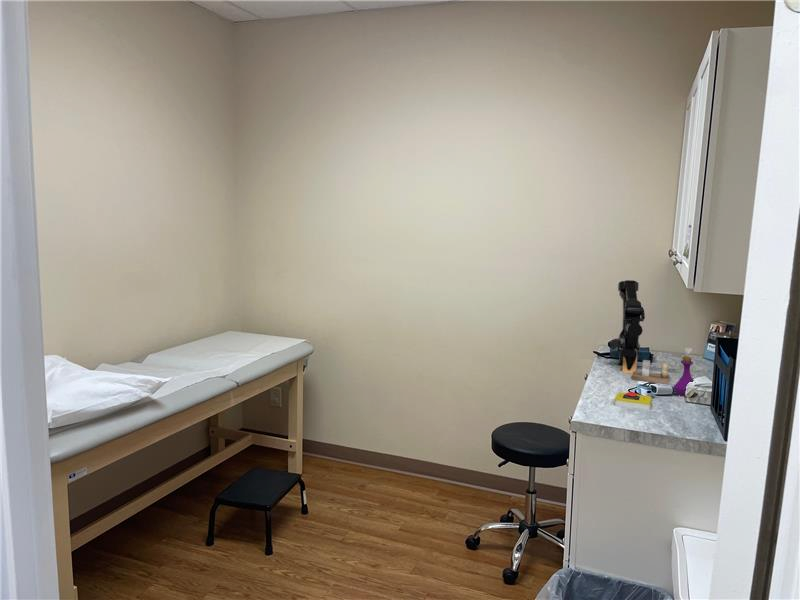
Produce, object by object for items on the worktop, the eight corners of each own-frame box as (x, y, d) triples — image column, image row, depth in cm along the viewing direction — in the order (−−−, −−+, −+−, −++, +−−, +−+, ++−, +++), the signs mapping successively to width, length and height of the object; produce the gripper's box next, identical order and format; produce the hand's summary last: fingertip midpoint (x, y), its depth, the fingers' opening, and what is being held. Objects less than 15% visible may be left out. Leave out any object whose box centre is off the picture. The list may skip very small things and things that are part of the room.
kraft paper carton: (623, 370, 251) (624, 353, 250) (636, 371, 249) (637, 354, 248) (622, 372, 247) (623, 355, 246) (635, 374, 244) (636, 356, 243)
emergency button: (613, 388, 207) (659, 393, 200) (613, 400, 208) (658, 406, 201) (610, 394, 199) (657, 400, 192) (609, 406, 199) (656, 413, 192)
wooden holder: (633, 374, 243) (634, 357, 242) (669, 378, 237) (671, 360, 236) (631, 379, 234) (632, 361, 234) (668, 384, 228) (670, 365, 227)
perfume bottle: (694, 399, 207) (698, 350, 205) (672, 396, 211) (675, 348, 209) (698, 395, 213) (702, 347, 211) (676, 391, 217) (679, 345, 215)
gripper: (614, 328, 258) (612, 362, 259) (609, 334, 241) (607, 370, 243) (641, 330, 253) (639, 365, 254) (637, 337, 236) (635, 374, 238)
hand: (629, 368), depth 248 cm, fingers closed on kraft paper carton, 5 cm apart
